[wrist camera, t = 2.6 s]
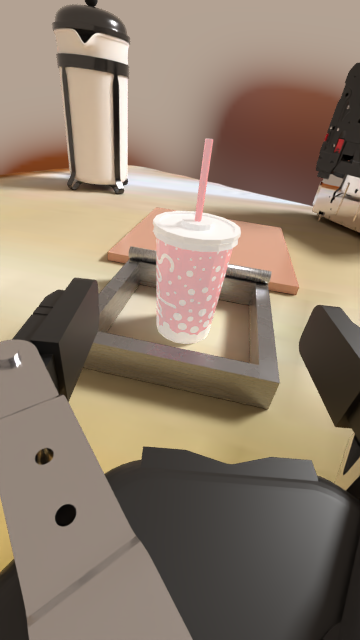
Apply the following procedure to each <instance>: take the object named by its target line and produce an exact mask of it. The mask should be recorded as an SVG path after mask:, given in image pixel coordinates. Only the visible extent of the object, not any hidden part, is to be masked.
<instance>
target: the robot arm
mask: <svg viewBox="0 0 360 640" xmlns="http://www.w3.org/2000/svg"><path fill="white" fill-rule="evenodd" d="M99 319H100V316H99V297H98V284H97V281H96V280H91V279H82V278H74V279H73V280H72V281H71V283H70V284H69V285H68V287H67V288H66V290H57V291H55V292H53V293H51V294H50V295H48V296H46V297H45V298H44V300H43V301H42V302H41V303H40V305H39V307H37V309H36V310H35V311H34V312H33V315H31V316H30V317H29V319H28V320H27V321H26V322H25V324H24V325H23V326H22V328H21V329H20V330H19V331H18V333H17V334H16V335H15V336H14V338H13V339H12V340H6V341H2V342H0V497H1V501H2V506H3V510H4V515H5V519H6V524H7V528H8V533H9V537H10V542H11V546H12V550H13V555H14V559H13V560H12V561H11V562H10V563H9V564H8V565H7V566H6V567H5V568H4V569H3V570H2V571H1V572H0V640H360V327H358V326H357V325H356V324H354V323H353V322H352V321H351V320H350V319H349V317H348V316H347V315H346V314H345V312H344V311H343V310H342V309H341V308H340V307H333V306H324V305H317V306H316V307H315V308H314V309H313V311H312V313H311V315H310V318H309V320H308V322H307V324H306V327H305V329H304V331H303V333H302V335H301V338H300V341H299V352H300V355H301V357H302V359H303V361H304V363H305V365H306V367H307V369H308V371H309V373H310V376H311V378H312V380H313V382H314V384H315V386H316V388H317V390H318V392H319V394H320V396H321V398H322V401H323V403H324V405H325V407H326V409H327V411H328V413H329V415H330V417H331V419H332V421H333V423H334V426H335V427H341V428H352V430H353V431H354V433H353V434H352V436H351V437H350V438H349V441H348V444H347V447H346V450H345V453H344V456H343V459H342V462H341V465H340V468H339V471H338V475H337V478H336V481H335V483H332V482H331V481H329V480H327V479H324V478H322V477H320V476H317V474H316V472H315V469H314V466H313V463H312V461H311V460H301V459H289V458H277V457H269V458H263V459H258V460H253V461H248V462H243V463H237V464H226V463H223V462H220V461H217V460H214V459H211V458H208V457H205V456H202V455H199V454H196V453H193V452H190V451H187V450H180V449H168V448H155V447H143V453H142V460H137V461H132V462H129V463H126V464H123V465H121V466H118V467H116V468H114V469H112V470H110V471H108V472H107V473H105V474H104V473H103V471H102V469H101V467H100V465H99V463H98V461H97V459H96V457H95V455H94V453H93V451H92V449H91V447H90V445H89V443H88V441H87V439H86V437H85V435H84V433H83V431H82V429H81V427H80V425H79V423H78V421H77V419H76V417H75V415H74V413H73V411H72V409H71V407H70V405H69V403H68V402H69V399H70V397H71V394H72V392H73V390H74V387H75V385H76V382H77V380H78V378H79V375H80V373H81V370H82V368H83V366H84V363H85V361H86V358H87V356H88V354H89V351H90V349H91V346H92V344H93V342H94V339H95V337H96V334H97V332H98V328H99Z"/></svg>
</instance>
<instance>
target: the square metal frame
mask: <svg viewBox="0 0 360 640" xmlns="http://www.w3.org/2000/svg"><path fill="white" fill-rule="evenodd" d="M129 258H130V259H129V260H128V261H127V262H126V263H125V265H124V266H123V267H122V268H121V269H120V270H119V272H118V273H117V274H116V275H115V276H114V277H113V278H112V280H111V281H110V282H109V283H108V284H107V285H106V286H105V288H104V289H103V290H102V291H101V292H100V293H99V294H98V297H99V316H100V319H99V328H98V332H97V334H96V337H95V339H94V342H93V344H92V346H91V349H90V351H89V354H88V356H87V358H86V361H85V363H84V366H83V368H88V369H92V370H96V371H101V372H105V373H110V374H114V375H119V376H123V377H128V378H132V379H136V380H141V381H145V382H150V383H154V384H159V385H163V386H167V387H172V388H176V389H181V390H185V391H190V392H194V393H198V394H203V395H207V396H212V397H216V398H221V399H225V400H229V401H234V402H238V403H243V404H247V405H252V406H256V407H261V408H265V409H268V408H269V406H270V404H271V401H272V399H273V397H274V395H275V392H276V390H277V388H278V386H279V383H280V381H279V373H278V364H277V356H276V347H275V339H274V330H273V322H272V313H271V305H270V296H269V288H268V284H269V282H270V279H271V271H267V270H261V269H255V268H250V267H244V266H239V265H233V264H228V267H227V271H226V274H225V278H224V281H223V285H222V288H221V292H220V295H219V300H225V301H230V302H235V303H240V304H245V305H249V335H250V363H246V362H242V361H237V360H232V359H227V358H223V357H218V356H213V355H209V354H204V353H199V352H194V351H190V350H185V349H180V348H175V347H171V346H166V345H161V344H157V343H152V342H147V341H142V340H138V339H133V338H128V337H123V336H119V335H114V334H109V333H107V331H108V330H109V328H110V327H111V325H112V324H113V322H114V321H115V319H116V318H117V316H118V315H119V313H120V312H121V311H122V309H123V308H124V306H125V305H126V303H127V302H128V300H129V299H130V297H131V296H132V294H133V293H134V291H135V290H136V288H137V287H138V285H139V284H141V285H146V286H152V287H157V276H156V251H155V250H149V249H144V248H138V247H133V246H131V247H130V249H129Z"/></svg>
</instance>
